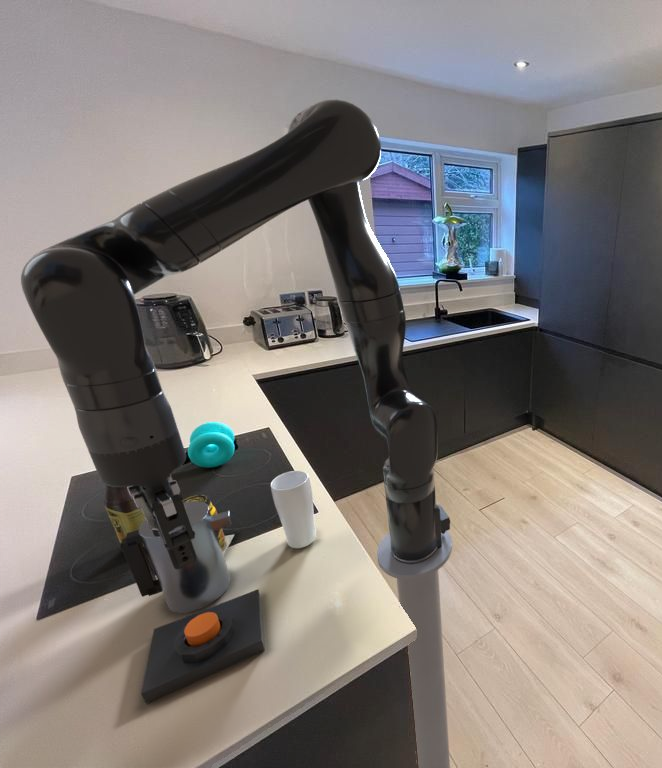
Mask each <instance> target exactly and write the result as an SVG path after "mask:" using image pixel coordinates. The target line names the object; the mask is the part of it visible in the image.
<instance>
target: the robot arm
mask: <svg viewBox="0 0 662 768" xmlns="http://www.w3.org/2000/svg"><path fill="white" fill-rule="evenodd" d="M381 143H382V141H381V139H380V134H379V132H378V129H377V127H376V125H375V123H374V121H373V120H372V119H371V117H370V116H369V115H368V114H367V113H366V112H365V111H364V110H363V109H361V108H360V107H359V106H357V105H355V104H353V103H352V102H349V101H346V100H342V99H324V100H322V101H319V102H316V103H314V104H313V105H311V106H309V107H307V108H305V109H303V110H302V111H300V112H298V113H297V114H296V115H295V116H294V117H293V119H292V120H291V122H290V124H289V127H288V130H287V133H286V134H284V135H283V136H281V137H280V138H278V139H277V140H275V141H273V142H271V143H270V144H268V145H266V146H264V147H263V148H260V149H259V150H257V151H255V152H252V153H250V154H249V155H246V156H244V157H241V158H240V159H239V158H238V159H236V160H234V161H232V162H230V163H226V164H225V165H222V166H219V167H217V168H214V169H212V170H210V171H207V172H205V173H202V174H199V175H196V176H194V177H192V178H190V179H188V180H185V181H183V182H180V183H178V184H176V185H175V186H172V187H170V188H168V189H166V190H164V191H162V192H159V193H158V194H155V195H154V196H152V197H150V198H148V199H146V200H143V201H142V202H141V203H140V202H139V203H138V204H136V205H134V206H132V207H131V208H128V210H126V211H124V212H123V213H121V214H120V215H118V216H117V217H116V218H115V219H112V220H109V221H107V222H106V223H103V224H101V225H98V226H95V227H93V228H90V229H88V230H85V231H83V232H81V233H79V234H76V235H73V236H71V237H69V238H66V239H65V240H63V241H60V242H58V243H55V244H53V245H51V246H49V247H47V248H44V249H42V250H40V251H38V252H36V254H34V255H33V256H32V257H31V258H30V259H28V261H27V262H26V263H25V265H24V266H23V268H22V271H21V274H20V285H21V290H22V292H23V296H24V297H25V300H26V302H27V304H28V307H29V308H30V311H31V313H32V315H33V317H34V319H35V321H36V323H37V325H38V327H39V328H40V331H41V333H42V334H43V336H44V338H45V340H46V341H47V343H48V345H49V347H50V349H51V350H52V352H53V354H54V355H55V357H56V359H57V365H58V368H59V371H60V372H59V373H60V375H61V379H62V382H63V383H64V386H65V389H66V392H67V393H68V396H69V398H70V400H71V403H72V405H73V408H74V411H75V415H76V421H77V426H78V429H79V432H80V434H81V436H82V439H83V442H84V444H85V446H86V448H87V451H88V454H89V456H90V458H91V460H92V463H93V466H94V468H95V470H96V473H97V475H98V477H99V480H100V482H101V483H102V484H103V485H105V486H106V485H108V486H111V487H127V489H128V492H129V494H130V496H131V498H132V499H133V500H134V502H135V504H136V506H137V508H138V509H141V510H142V512H143V514H144V516H145V518H146V521H147V523H148V525H149V527H150V529H151V530H152V532H153V534H154V536H156V537H159V536H160V537H161V539H162V541H161V543H162V545H164V546H165V548H166V549H167V552H168V554H169V557H170V560H171V562H172V565H173V567H174V568H175V569H180V568H182V567H184V566H186V565H188V564H190V563H192V562H194V561H195V560H196V558H197V556H196V553H195V550H194V547H193V545H192V542H191V540H192V539H194V538H195V536H194V535H195V532H194V531H193V530H192V527H191V524H190V521H189V518H188V516H187V510H186V508H185V505H184V503H183V500H184V497H183V495H181V494H180V493H181V487H180V486H179V483H178V482H177V480H176V479H173V477H172V473H174V472H175V471H178V470H179V469H180V468H181V467H182V466H183V465H184V464H185V462H186V460H187V453H186V450H185V446H184V444H183V441H182V437H181V434H180V432H179V427H178V425H177V422H176V419H175V415H174V412H173V409H172V406H171V404H170V403H169V401H168V398H167V396H166V395H165V392H164V390H163V387H162V384H161V381H160V378H159V374H158V371H157V367H156V365H155V362H154V360H153V358H152V355H151V353H150V351H149V350H148V348H147V346H146V341H145V336H144V331H143V326H142V322H141V316H140V313H139V309H138V305H137V301H136V297H135V295H136V294H138V293H140V292H141V291H144V290H145V289H147V288H149V287H150V286H152V285H153V284H156V283H157V282H158V281H160V280H162V279H164V278H166V277H168V276H172V275H178V274H182V273H184V272H186V271H188V270H191V269H193V268H194V267H197V266H198V265H199V264H202V263H204V262H205V261H207V260H208V259H210V258H212V257H214V256H215V255H217V254H218V253H220V252H222V251H224V250H225V249H227V248H229V247H230V246H232V245H234V244H235V243H236V242H238V241H240V240H241V239H243V238H245V237H247V236H248V235H250V234H251V233H253V232H254V231H256V230H258V229H259V228H261V227H262V226H264V225H265V224H267V223H268V222H270V221H271V220H273V219H275V218H276V217H278V216H280V215H281V214H284V213H285V212H287V211H289V210H291V209H293V208H294V207H296V206H298V205H300V204H302V203H305V202H306V201H308V203H309V205H310V208H311V210H312V214H313V216H314V219H315V221H316V225H317V228H318V230H319V234H320V238H321V241H322V245H323V249H324V253H325V257H326V260H327V264H328V267H329V271H330V274H331V278H332V280H333V284H334V289H335V293H336V296H337V301H338V303H339V307H340V310H341V313H342V317H343V321H344V323H345V326H346V329H347V332H348V334H349V338H350V341H351V344H352V348H353V350H354V353H355V357H356V358H357V362H358V364H359V368H360V369H361V373H362V376H363V381H364V382H363V383H364V387H365V392H366V398H367V404H368V405H367V406H368V411H369V416H370V420H371V423H372V426H373V428H374V429H375V431H376V432H377V433H378V434H379V435H380V436H381V437H382V438H383V439H384V440H385V441H386V442H387V449H388V458H386V460H385V461H384V463H383V464H382V474H383V475H382V476H383V485H384V492H385V493H384V494H385V502H386V503H385V504H386V512H387V513H386V514H387V520H388V521H387V523H388V531H389V532H390V540H391V553H392V556H393V557H394V558H395V559H396V560H397V561H399V562H401V563H405V564H416V563H420V562H423V561H425V560H427V559H429V558H430V557H431V556H433V555H434V554H435V552H436V551H437V549H439V548H441V547H442V538H441V533H442V534H444V533H445V532H446V531H449V530H451V519H450V516H449V515H448V513H447V512H446V511H445V510H444V508H443V506H442V505H441V504H439V503H438V504H437V499H436V482H435V466H436V463H437V461H438V421H437V416H436V413H435V410H434V409H433V407H432V406H431V405H429V404H428V403H427V402H425V401H424V400H422V399H420V398H419V397H417V396H416V394H414V393H413V391H412V387H411V386H410V383H409V380H408V377H407V373H406V370H405V366H404V365H405V364H404V359H403V358H404V355H403V354H404V353H403V352H404V344H405V340H406V339H405V338H406V332H407V331H406V330H407V318H406V311H405V307H404V302H403V297H402V293H401V289H400V284H399V282H398V277H397V275H396V272H395V270H394V268H393V267H392V265H391V263H390V260H389V258H388V257H387V254H386V253H385V252H384V250H383V249H382V247H381V245H380V243H379V242H378V240H377V238H376V236H375V235H374V232H373V231H372V229H371V227H370V224H369V222H368V219H367V217H366V216H367V215H366V213H365V209H364V204H363V200H362V195H361V190H360V185H359V183H361V182H363V181H364V180H366V179H368V178H369V177H371V175H372V174H373V173H375V171H376V169H377V167H378V165H379V162H380V159H381V154H382V144H381ZM179 526H181V528H182V529H180V530H178V531H175V532H173V533H171V534H169V532H170V531H173V530H174V529H175V528H176V527H179Z"/></svg>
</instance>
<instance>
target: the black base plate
mask: <svg viewBox="0 0 662 768" xmlns="http://www.w3.org/2000/svg"><path fill="white" fill-rule="evenodd" d="M262 605H263V604H262V597H261V594H260V589H255V590H252V591H249V592H247V593H244V594H242V595H239V596H237V597H234V598H231V599H229V600H226V601H224V602H221V603H219V604H215V605H213V606H211V607H208V608H205V609H203V610H200V611H198V612H195V613H192V614H189V615H187V616H185V617H181V618H179V619H176V620H174V621H171V622H169V623H167V624H166V623H165V624H163V625H161V626H159V627H156V628H154V629H153V631H152V637H151V642H150V647H149V652H148V657H147V662H146V667H145V672H144V678H143V682H142V687H141V692H140V693H141V697H142V699H143V701H144V703H145V705H148V704H150V703H152V702H155V701H156V700H158V699H160V698H163V697H166V696H167V695H169V694H172V693H174V692H176V691H179V690H180V689H182V688H185V687H187V686H189V685H192V684H194V683H196V682H198V681H200V680H202V679H205V678H207V677H209V676H212V675H214V674H215V673H218V672H220V671H222V670H225V669H227V668H229V667H231V666H233V665H236V664H237V663H240V662H243V661H244V660H246V659H249V658H251V657H253V656H256V655H258V654H260V653H262V652H265V650H266V647H265V636H264V635H265V633H264V621H263V606H262ZM207 612H213V613H215V614H216V615H217V617H218V620H219V623H220V626H221V627H220V631H219V633H218V634H217V635H216V636H215V637H214V638H213V639H211V640H210V641H209V642H207V643H205V644H202V645H200V646H191V645H189V644H188V641H187V639H186V636H185V634H184V630H185V627H186V626H187V624H188V623H189V622H190V621H191V620H192V619H194V618H195V617H197V616H199V615H201V614H203V613H207Z"/></svg>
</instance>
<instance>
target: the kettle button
mask: <svg viewBox="0 0 662 768" xmlns="http://www.w3.org/2000/svg"><path fill="white" fill-rule="evenodd" d="M220 627H221V626H220V623H219V620H218V617H217V615H216V614H215V613H213V612H207V613H203V614H201V615H199V616H197V617H195V618H194V619H192V620H191V621H190V622H189V623H188V624H187V626H186V627H185V630H184V634H185V636H186V639H187V641H188V644H189V645H191V646H200V645H202V644H205V643H207V642H209V641H210V640H211V639H213V638H214V637H215V636H216V635H217V634H218V633H219V631H220Z"/></svg>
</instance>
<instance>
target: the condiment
mask: <svg viewBox="0 0 662 768" xmlns="http://www.w3.org/2000/svg"><path fill="white" fill-rule="evenodd" d="M182 501H183V502H189V501H200V502H204V503H206V504H207V505H208V507H209V510H210V513H211V516H212V515H216V514H219V513H218V511H217V509H216V507H215V506H214V505H213V503H212V501H211V497H209V495H207V494H195V495H191V496H188V497H186V498H183V500H182ZM216 533H217V536H218V539H219V542H220V546H221V549H222V552H223V555H225V553H226V551H227V550H228V548H229V546H230V544H231V543H232V540H233V538H234V537H235V533H233V534H229V535H225V533H224V531H223V528H222V529H218V530H216Z"/></svg>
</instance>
